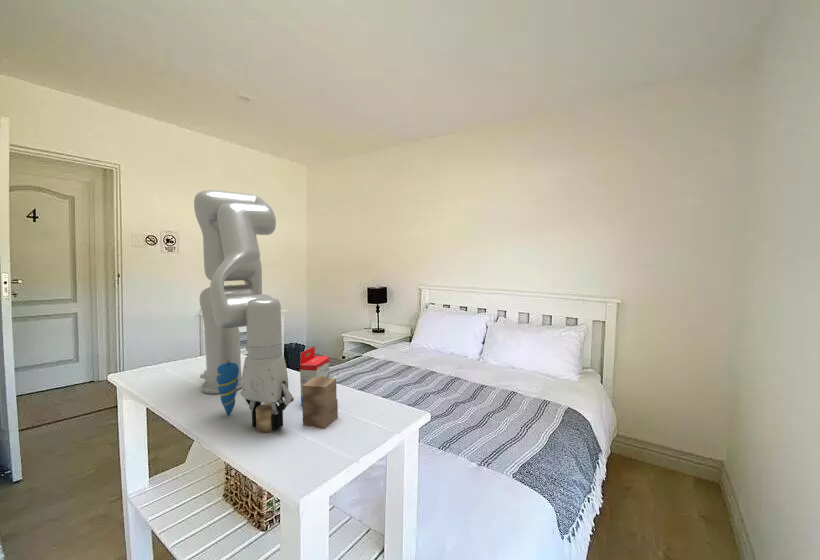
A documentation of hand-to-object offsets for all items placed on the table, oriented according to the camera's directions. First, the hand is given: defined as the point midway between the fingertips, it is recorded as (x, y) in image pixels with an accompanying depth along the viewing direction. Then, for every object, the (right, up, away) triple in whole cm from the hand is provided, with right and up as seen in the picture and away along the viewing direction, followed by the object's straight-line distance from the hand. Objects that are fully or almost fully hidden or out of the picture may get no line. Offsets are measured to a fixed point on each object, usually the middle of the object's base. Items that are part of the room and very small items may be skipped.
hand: (267, 425), depth 85 cm
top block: (+12, +5, +3) cm, 13 cm away
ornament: (-12, 0, +7) cm, 14 cm away
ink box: (+7, 0, +15) cm, 17 cm away
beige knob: (0, -1, 0) cm, 1 cm away
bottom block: (+12, 0, +3) cm, 12 cm away
